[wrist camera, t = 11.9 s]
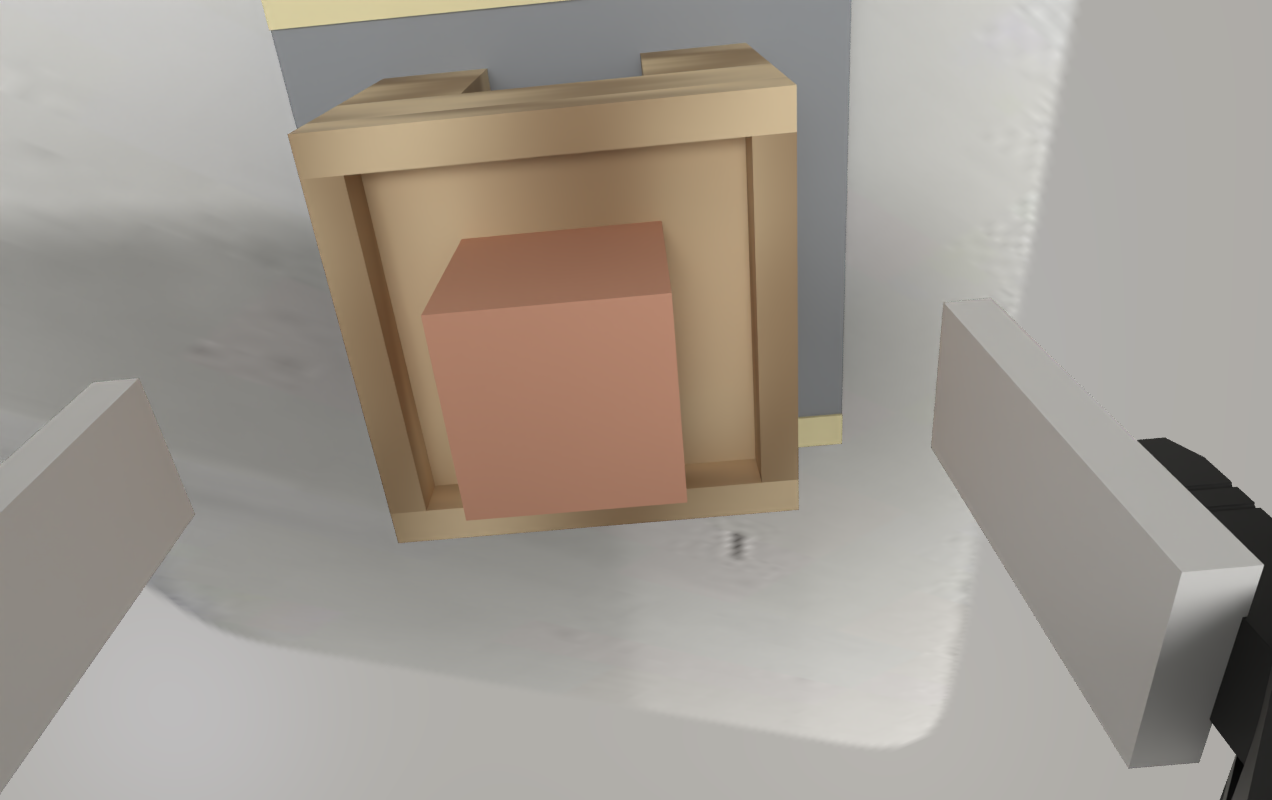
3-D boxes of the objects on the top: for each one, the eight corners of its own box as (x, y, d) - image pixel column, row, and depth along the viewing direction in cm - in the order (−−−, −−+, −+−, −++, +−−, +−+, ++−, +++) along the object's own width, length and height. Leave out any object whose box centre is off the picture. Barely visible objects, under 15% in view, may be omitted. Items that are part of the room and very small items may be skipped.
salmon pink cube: (494, 414, 19) (465, 520, 16) (461, 239, 17) (420, 315, 14) (675, 398, 19) (687, 502, 16) (661, 220, 17) (671, 293, 14)
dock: (410, 432, 30) (389, 481, 27) (300, -21, 23) (257, -16, 21) (821, 396, 29) (841, 443, 27) (826, -75, 23) (854, -77, 20)
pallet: (452, 398, 26) (398, 542, 20) (383, 78, 22) (287, 134, 15) (755, 371, 26) (798, 509, 19) (745, 42, 21) (796, 84, 15)
